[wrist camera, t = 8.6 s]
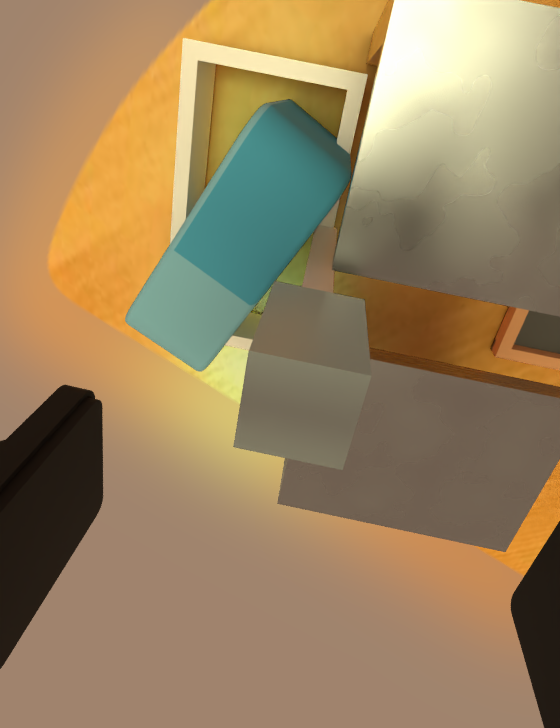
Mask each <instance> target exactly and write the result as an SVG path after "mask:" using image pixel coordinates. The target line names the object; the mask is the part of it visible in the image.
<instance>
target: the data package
mask: <svg viewBox="0 0 560 728" xmlns="http://www.w3.org/2000/svg"><path fill="white" fill-rule="evenodd" d="M351 175H352V174H351V160H350V154H349V153H348V152H347V151H345V150H344V149H343V148H342V147H341V146H340V145H338V144H337V138H336V137H335V136H334V135H332V134H331V133H330V132H329V131H328V130H326V129H325V128H324V127H323V126H322V125H321V124H319V123H318V122H317V121H316V120H315V119H313V118H312V117H311V116H310V115H309V114H308V113H306V112H305V111H304V110H303V109H302V108H301V107H299V106H298V105H297V104H296V103H295V102H293V101H292V100H290V99H288V100H282V101H276V102H270V103H265V104H263V105H262V106H261V107H260V108H259V109H258V110H257V111H256V112H255V114H254V115H253V116H252V117H251V119H250V120H249V121H248V123H247V124H246V126H245V127H244V128H243V130H242V131H241V133H240V134H239V136H238V137H237V139H236V141H235V142H234V144H233V145H232V147H231V148H230V150H229V152H228V153H227V155H226V156H225V158H224V160H223V161H222V163H221V164H220V166H219V168H218V169H217V171H216V172H215V174H214V175H213V177H212V179H211V180H210V182H209V183H208V185H207V187H206V188H205V190H204V191H203V193H202V194H201V196H200V198H199V199H198V201H197V202H196V204H195V206H194V207H193V209H192V210H191V212H190V213H189V215H188V217H187V218H186V220H185V221H184V223H183V225H182V226H181V228H180V229H179V231H178V233H177V234H176V236H175V237H174V239H173V240H172V242H171V244H170V245H169V247H168V248H167V250H166V252H165V253H164V255H163V256H162V258H161V259H160V261H159V263H158V264H157V266H156V267H155V269H154V271H153V272H152V274H151V275H150V277H149V279H148V280H147V282H146V283H145V285H144V286H143V288H142V290H141V291H140V293H139V294H138V296H137V298H136V299H135V301H134V302H133V304H132V306H131V307H130V309H129V311H128V313H127V315H126V318H125V321H126V323H127V324H128V325H130V326H131V327H133V328H134V329H136V330H137V331H139V332H140V333H142V334H143V335H145V336H146V337H147V338H149V339H150V340H152V341H153V342H155V343H156V344H158V345H159V346H161V347H162V348H164V349H165V350H167V351H168V352H170V353H171V354H173V355H174V356H176V357H177V358H179V359H180V360H182V361H183V362H185V363H186V364H188V365H189V366H191V367H192V368H193V369H195V370H196V371H203V370H204V369H206V368H207V367H208V365H209V364H210V363H211V362H212V361H213V359H214V358H215V357H216V356H217V354H218V353H219V352H220V350H221V349H222V348H223V347H224V345H225V344H226V343H227V342H228V340H229V339H230V338H231V336H232V335H233V334H234V333H235V331H236V330H237V329H238V328H239V326H240V325H241V324H242V322H243V321H244V320H245V319H246V317H247V316H248V315H249V313H250V312H251V311H252V310H253V308H254V307H255V306H256V305H257V303H258V302H259V301H260V299H261V298H262V297H263V296H264V294H265V293H266V292H267V291H268V289H269V288H270V287H271V285H272V284H273V283H274V281H275V280H276V279H277V278H278V276H279V275H280V274H281V273H282V271H283V270H284V269H285V268H286V266H287V265H288V264H289V262H290V261H291V260H292V259H293V257H294V256H295V255H296V254H297V252H298V251H299V250H300V248H301V247H302V246H303V245H304V243H305V242H306V241H307V240H308V238H309V237H310V236H311V234H312V233H313V232H314V231H315V229H316V228H317V227H318V225H319V224H320V223H321V222H322V220H323V219H324V218H325V217H326V215H327V214H328V213H329V211H330V210H331V209H332V207H333V206H334V205H335V203H336V202H337V201H338V199H339V198H340V196H341V195H342V193H343V192H344V190H345V189H346V187H347V185H348V183H349V182H350V179H351Z"/></svg>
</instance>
